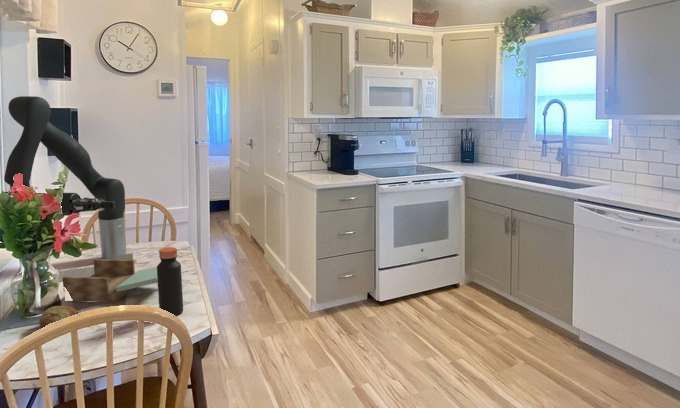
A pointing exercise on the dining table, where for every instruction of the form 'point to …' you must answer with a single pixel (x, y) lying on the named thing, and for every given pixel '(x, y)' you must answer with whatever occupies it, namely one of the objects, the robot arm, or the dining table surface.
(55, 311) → the bread roll
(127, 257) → the architectural model
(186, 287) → the dining table surface
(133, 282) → the green box lid
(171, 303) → the bottle
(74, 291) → the wood grain box
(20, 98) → the robot arm
